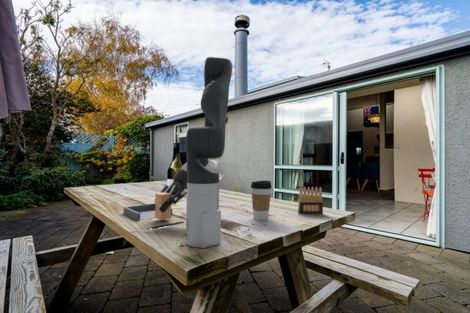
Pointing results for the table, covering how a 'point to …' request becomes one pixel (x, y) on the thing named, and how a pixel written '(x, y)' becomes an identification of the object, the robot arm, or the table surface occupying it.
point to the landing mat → (167, 225)
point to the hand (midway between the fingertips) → (158, 209)
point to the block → (159, 201)
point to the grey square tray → (141, 211)
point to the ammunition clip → (310, 201)
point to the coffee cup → (261, 199)
